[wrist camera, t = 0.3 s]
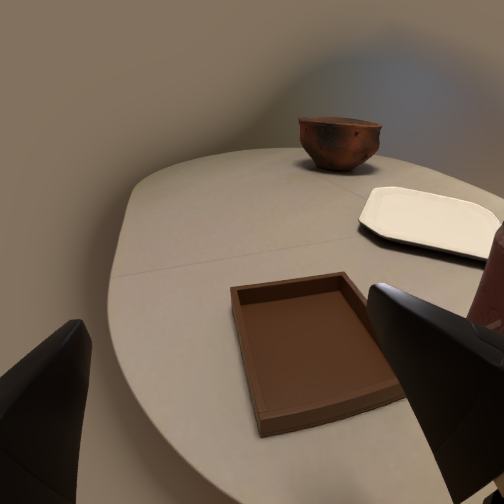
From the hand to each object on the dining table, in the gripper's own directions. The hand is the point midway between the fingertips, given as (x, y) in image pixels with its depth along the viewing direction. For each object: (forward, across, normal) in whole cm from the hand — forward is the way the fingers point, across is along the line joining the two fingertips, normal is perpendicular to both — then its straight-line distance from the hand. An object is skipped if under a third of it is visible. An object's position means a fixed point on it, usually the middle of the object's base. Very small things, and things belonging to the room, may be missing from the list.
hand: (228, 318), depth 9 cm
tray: (+11, -7, +14) cm, 19 cm away
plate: (+33, -40, +14) cm, 53 cm away
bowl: (+78, -39, +12) cm, 88 cm away
